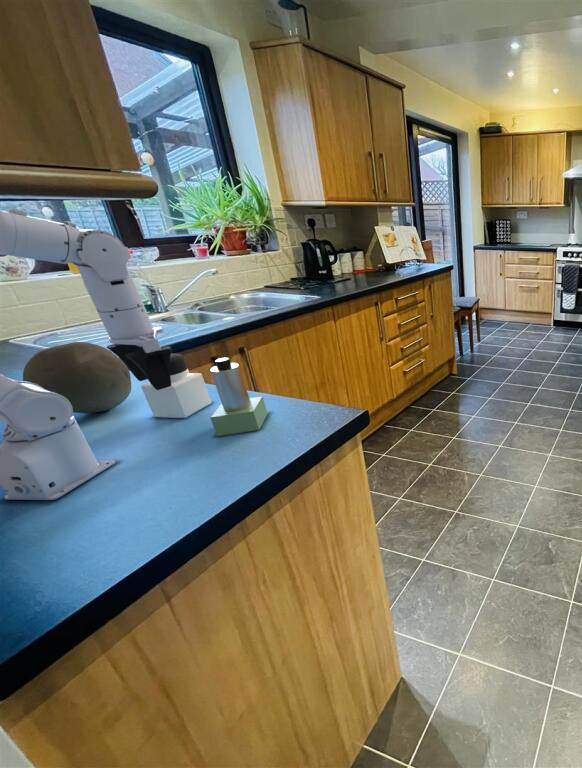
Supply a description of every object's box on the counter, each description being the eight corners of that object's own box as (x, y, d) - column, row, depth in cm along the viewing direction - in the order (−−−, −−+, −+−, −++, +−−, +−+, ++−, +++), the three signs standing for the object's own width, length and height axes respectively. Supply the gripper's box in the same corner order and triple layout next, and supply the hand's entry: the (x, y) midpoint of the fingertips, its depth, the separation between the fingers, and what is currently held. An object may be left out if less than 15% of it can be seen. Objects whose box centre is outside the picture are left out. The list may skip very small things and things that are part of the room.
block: (259, 430, 76) (253, 411, 74) (217, 436, 74) (210, 417, 72) (267, 413, 82) (262, 396, 80) (228, 419, 80) (222, 401, 78)
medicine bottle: (213, 403, 87) (194, 350, 82) (185, 418, 81) (163, 363, 76) (183, 402, 88) (162, 350, 83) (153, 417, 81) (129, 362, 76)
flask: (241, 411, 74) (225, 363, 70) (218, 411, 74) (201, 364, 71) (256, 401, 78) (241, 355, 74) (234, 401, 78) (218, 355, 75)
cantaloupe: (107, 395, 92) (77, 332, 85) (158, 399, 89) (131, 334, 83) (29, 426, 79) (-13, 354, 73) (87, 431, 77) (48, 358, 70)
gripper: (168, 307, 65) (198, 383, 70) (134, 298, 72) (164, 368, 78) (112, 317, 59) (149, 399, 65) (81, 307, 66) (118, 381, 72)
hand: (154, 383), depth 71 cm, fingers open, 7 cm apart
